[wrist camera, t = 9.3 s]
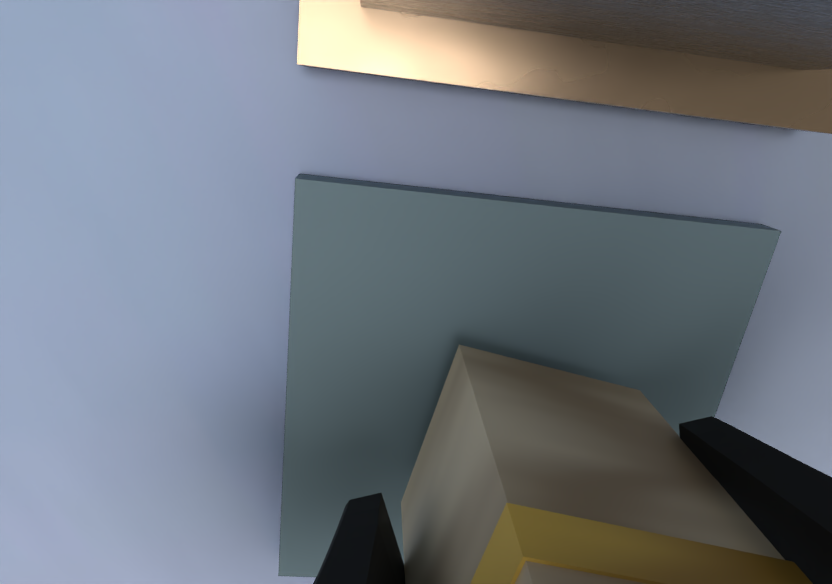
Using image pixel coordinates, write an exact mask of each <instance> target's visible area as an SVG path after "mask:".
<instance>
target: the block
mask: <svg viewBox="0 0 832 584" xmlns="http://www.w3.org/2000/svg"><path fill="white" fill-rule="evenodd" d="M401 513H402V532H403V552H404V571H405V584H813V583H812V582H811V581H810V580H809V579H808V578H807V576H806V575H805V574H804V573H803V572H802V571H801V570H800V568H799V567H798V566H797V565H796V564H795V563H794V562H792V561H787V560H785V559H784V558H783V557H782V556H781V554H780V553H779V552H778V551H777V550H776V549H775V547H774V546H773V545H772V544H771V543H770V542H769V540H768V539H767V538H766V537H765V536H764V535H763V533H762V532H761V531H760V530H759V529H758V528H757V526H756V525H755V524H754V523H753V522H752V521H751V519H750V518H749V517H748V516H747V515H746V514H745V512H744V511H743V510H742V509H741V508H740V507H739V505H738V504H737V503H736V502H735V501H734V500H733V498H732V497H731V496H730V495H729V494H728V493H727V491H726V490H725V489H724V488H723V487H722V486H721V484H720V483H719V482H718V481H717V480H716V479H715V478H714V477H713V476H712V475H711V473H710V472H709V471H708V470H707V469H706V468H705V466H704V465H703V464H702V463H701V462H700V461H699V460H698V458H697V457H696V456H695V455H694V454H693V453H692V451H691V450H690V449H689V448H688V447H687V446H686V444H685V443H684V442H683V441H682V440H681V439H680V437H679V435H678V434H677V433H676V432H675V431H674V430H673V428H672V427H671V426H670V425H669V424H668V423H667V421H666V420H665V419H664V418H663V417H662V416H661V414H660V413H659V412H658V411H657V410H656V409H655V407H654V406H653V405H652V404H651V403H650V402H649V400H648V399H647V398H646V397H645V396H644V395H643V393H642V392H641V391H640V390H637V389H633V388H629V387H625V386H621V385H617V384H613V383H609V382H605V381H601V380H597V379H593V378H589V377H585V376H581V375H578V374H574V373H570V372H566V371H562V370H558V369H554V368H550V367H546V366H542V365H538V364H534V363H530V362H526V361H522V360H518V359H514V358H510V357H506V356H502V355H499V354H495V353H491V352H487V351H483V350H479V349H475V348H471V347H467V346H463V345H459V346H458V349H457V351H456V354H455V357H454V359H453V362H452V365H451V368H450V370H449V373H448V376H447V378H446V381H445V384H444V387H443V389H442V392H441V395H440V398H439V400H438V403H437V406H436V408H435V411H434V414H433V417H432V419H431V422H430V425H429V427H428V430H427V433H426V436H425V438H424V441H423V444H422V447H421V449H420V452H419V455H418V457H417V460H416V463H415V466H414V468H413V471H412V474H411V476H410V479H409V482H408V485H407V487H406V490H405V493H404V496H403V498H402V501H401Z"/></svg>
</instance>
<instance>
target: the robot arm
mask: <svg viewBox="0 0 832 584" xmlns="http://www.w3.org/2000/svg"><path fill="white" fill-rule="evenodd" d="M679 435H680V439H681V440H682V441H683V442H684V443H685V444H686V446H687V447H688V448H689V449H690V450H691V451H692V453H693V454H694V455H695V456H696V457H697V458H698V460H699V461H700V462H701V463H702V464H703V465H704V466H705V468H706V469H707V470H708V471H709V472H710V473H711V475H712V476H713V477H714V478H715V479H716V480H717V481H718V482H719V483H720V484H721V486H722V487H723V488H724V489H725V490H726V491H727V493H728V494H729V495H730V496H731V497H732V498H733V500H734V501H735V502H736V503H737V504H738V505H739V507H740V508H741V509H742V510H743V511H744V512H745V514H746V515H747V516H748V517H749V518H750V519H751V521H752V522H753V523H754V524H755V525H756V526H757V528H758V529H759V530H760V531H761V532H762V533H763V535H764V536H765V537H766V538H767V539H768V540H769V542H770V543H771V544H772V545H773V546H774V547H775V549H776V550H777V551H778V552H779V553H780V554H781V556H782V557H783V558H784V559H785V560H787V561H792V562H794V563H795V564H796V565H797V566H798V567H799V568H800V570H801V571H802V572H803V573H804V574H805V575H806V576H807V578H808V579H809V580H810V581H811V582H812V583H813V584H832V477H830V476H828V475H826V474H824V473H822V472H820V471H818V470H816V469H814V468H812V467H810V466H808V465H806V464H804V463H802V462H800V461H798V460H796V459H794V458H792V457H790V456H788V455H786V454H785V453H783V452H781V451H779V450H777V449H775V448H773V447H771V446H769V445H767V444H765V443H763V442H761V441H760V440H758V439H756V438H754V437H752V436H750V435H748V434H746V433H744V432H742V431H740V430H738V429H737V428H735V427H733V426H731V425H729V424H727V423H725V422H723V421H721V420H719V419H717V418H714V417H712V416H710V417H706V418H701V419H697V420H693V421H688V422H684V423H680V424H679ZM313 584H405V571H404V563H403V560H402V556H401V553H400V550H399V547H398V544H397V540H396V537H395V534H394V531H393V528H392V525H391V521H390V518H389V515H388V512H387V509H386V505H385V502H384V499H383V496H382V493H377V494H373V495H368V496H364V497H360V498H355V499H351V500H349V501H348V503H347V504H346V506H345V508H344V511H343V513H342V516H341V519H340V521H339V524H338V527H337V529H336V532H335V534H334V537H333V539H332V542H331V544H330V547H329V549H328V551H327V554H326V556H325V559H324V561H323V563H322V566H321V568H320V570H319V572H318V575H317V577H316V579H315V581H314V583H313Z"/></svg>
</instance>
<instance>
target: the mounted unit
mask: <svg viewBox="0 0 832 584" xmlns="http://www.w3.org/2000/svg"><path fill="white" fill-rule="evenodd" d="M297 64H299V65H302V66H307V67H315V68H322V69H330V70H338V71H346V72H353V73H361V74H369V75H376V76H384V77H392V78H399V79H407V80H415V81H422V82H430V83H438V84H446V85H453V86H461V87H469V88H476V89H484V90H492V91H499V92H507V93H515V94H522V95H530V96H538V97H546V98H553V99H561V100H569V101H576V102H584V103H592V104H599V105H607V106H615V107H622V108H630V109H638V110H646V111H653V112H661V113H669V114H676V115H684V116H692V117H699V118H707V119H715V120H722V121H730V122H738V123H746V124H753V125H761V126H769V127H776V128H784V129H792V130H801V131H810V132H820V133H830V134H832V0H300V4H299V29H298V53H297Z"/></svg>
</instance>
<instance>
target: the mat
mask: <svg viewBox="0 0 832 584" xmlns="http://www.w3.org/2000/svg"><path fill="white" fill-rule="evenodd" d="M780 233H781V231H779V230H777V229H774V228H771V227H768V226H765V225H763V224H754V223H745V222H736V221H727V220H718V219H708V218H699V217H690V216H681V215H672V214H663V213H653V212H644V211H635V210H626V209H617V208H608V207H598V206H589V205H580V204H571V203H562V202H553V201H544V200H534V199H525V198H516V197H507V196H498V195H489V194H479V193H470V192H461V191H452V190H443V189H434V188H424V187H415V186H406V185H397V184H388V183H379V182H370V181H360V180H351V179H342V178H333V177H324V176H315V175H305V174H299V175H298V176H297V177H296V178H295V198H294V222H293V245H292V269H291V292H290V316H289V339H288V363H287V386H286V410H285V433H284V457H283V481H282V504H281V528H280V551H279V575H278V576H295V577H317V575H318V572H319V570H320V568H321V566H322V563H323V561H324V559H325V556H326V554H327V551H328V549H329V547H330V544H331V542H332V539H333V537H334V534H335V532H336V529H337V527H338V524H339V521H340V519H341V516H342V513H343V511H344V508H345V506H346V504H347V503H348V501H349V500H351V499H355V498H360V497H364V496H368V495H373V494H377V493H382V496H383V499H384V502H385V505H386V509H387V512H388V515H389V518H390V521H391V525H392V528H393V531H394V534H395V537H396V540H397V544H398V547H399V550H400V553H401V556H402V560H403V563H404V552H403V532H402V513H401V501H402V498H403V496H404V493H405V490H406V487H407V485H408V482H409V479H410V476H411V474H412V471H413V468H414V466H415V463H416V460H417V457H418V455H419V452H420V449H421V447H422V444H423V441H424V438H425V436H426V433H427V430H428V427H429V425H430V422H431V419H432V417H433V414H434V411H435V408H436V406H437V403H438V400H439V398H440V395H441V392H442V389H443V387H444V384H445V381H446V378H447V376H448V373H449V370H450V368H451V365H452V362H453V359H454V357H455V354H456V351H457V349H458V346H459V345H463V346H467V347H471V348H475V349H479V350H483V351H487V352H491V353H495V354H499V355H502V356H506V357H510V358H514V359H518V360H522V361H526V362H530V363H534V364H538V365H542V366H546V367H550V368H554V369H558V370H562V371H566V372H570V373H574V374H578V375H581V376H585V377H589V378H593V379H597V380H601V381H605V382H609V383H613V384H617V385H621V386H625V387H629V388H633V389H637V390H640V391H641V392H642V393H643V395H644V396H645V397H646V398H647V399H648V400H649V402H650V403H651V404H652V405H653V406H654V407H655V409H656V410H657V411H658V412H659V413H660V414H661V416H662V417H663V418H664V419H665V420H666V421H667V423H668V424H669V425H670V426H671V427H672V428H673V430H674V431H675V432H676V433H677V434H678V435H679V424H680V423H684V422H688V421H693V420H697V419H701V418H706V417H710V416H712V417H714V416H715V413H716V411H717V408H718V405H719V402H720V400H721V397H722V394H723V391H724V388H725V386H726V383H727V380H728V377H729V375H730V372H731V369H732V366H733V363H734V361H735V358H736V355H737V352H738V350H739V347H740V344H741V341H742V339H743V336H744V333H745V330H746V327H747V325H748V322H749V319H750V316H751V314H752V311H753V308H754V305H755V303H756V300H757V297H758V294H759V291H760V289H761V286H762V283H763V280H764V278H765V275H766V272H767V269H768V267H769V264H770V261H771V258H772V255H773V253H774V250H775V247H776V244H777V242H778V239H779V236H780ZM679 437H680V435H679Z"/></svg>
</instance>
